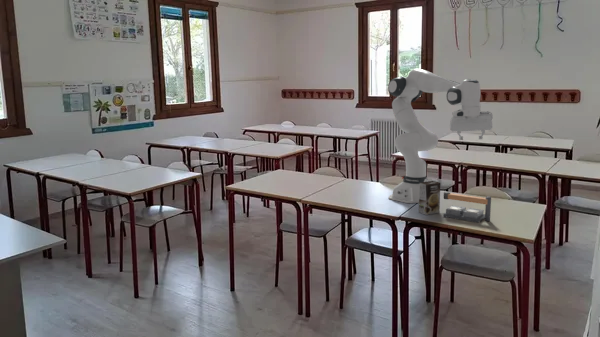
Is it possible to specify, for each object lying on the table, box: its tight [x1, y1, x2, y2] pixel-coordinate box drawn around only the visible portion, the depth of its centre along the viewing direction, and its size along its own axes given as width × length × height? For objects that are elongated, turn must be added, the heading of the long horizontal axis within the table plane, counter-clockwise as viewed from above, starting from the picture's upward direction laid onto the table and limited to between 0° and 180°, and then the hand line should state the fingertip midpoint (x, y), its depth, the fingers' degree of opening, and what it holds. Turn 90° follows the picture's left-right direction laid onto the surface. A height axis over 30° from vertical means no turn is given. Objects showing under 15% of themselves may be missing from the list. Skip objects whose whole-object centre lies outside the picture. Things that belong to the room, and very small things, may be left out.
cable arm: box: [443, 191, 492, 222], centre depth 254 cm, size 24×3×12 cm, turn 51°
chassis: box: [442, 204, 485, 223], centre depth 255 cm, size 18×10×4 cm, turn 51°
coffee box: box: [418, 180, 441, 216], centre depth 264 cm, size 9×6×16 cm
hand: (470, 139), depth 256 cm, fingers open, 8 cm apart
